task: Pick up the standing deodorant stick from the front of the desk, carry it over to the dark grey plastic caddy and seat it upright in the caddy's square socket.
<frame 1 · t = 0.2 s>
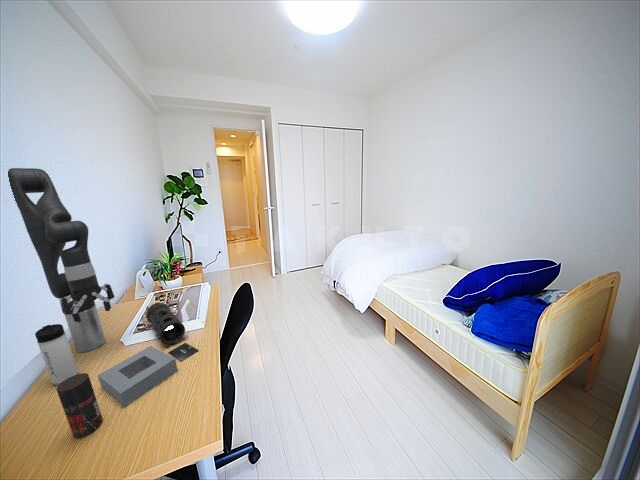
hand: (93, 316, 91), 17 cm above the table, tool pointing down, fingers open, 8 cm apart
travel mug: (66, 379, 83), on the table
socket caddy: (141, 379, 82), on the table
deodorant: (88, 428, 65), on the table
solid state drive: (183, 353, 94), on the table
muzzle brake: (166, 332, 109), on the table
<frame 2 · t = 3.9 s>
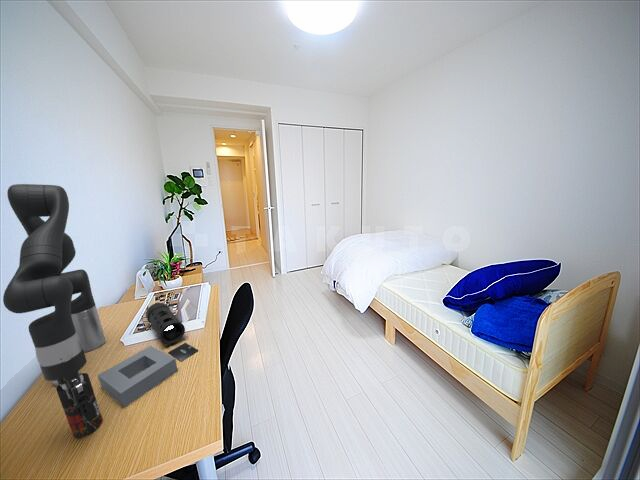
hand: (80, 408, 64), 7 cm above the table, tool pointing down, fingers closed on deodorant, 6 cm apart
deodorant: (88, 428, 65), on the table, touching gripper
everything else where it was.
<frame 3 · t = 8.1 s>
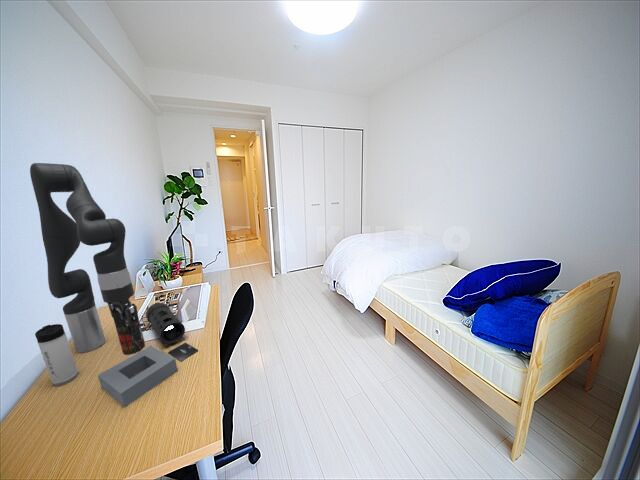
hand: (128, 331, 78), 18 cm above the table, tool pointing down, fingers closed on deodorant, 6 cm apart
deodorant: (134, 349, 79), point 11 cm above the table, touching gripper
everything else where it was.
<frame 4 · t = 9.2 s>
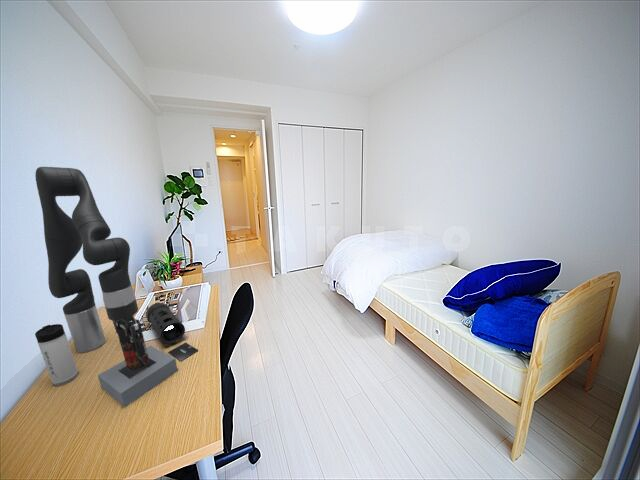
hand: (132, 347, 79), 12 cm above the table, tool pointing down, fingers closed on deodorant, 6 cm apart
deodorant: (138, 364, 81), point 5 cm above the table, touching gripper
everything else where it was.
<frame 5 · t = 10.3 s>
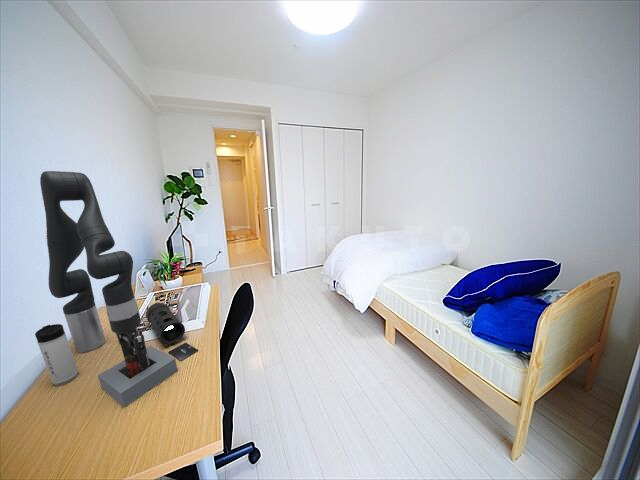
hand: (135, 358, 80), 8 cm above the table, tool pointing down, fingers closed on deodorant, 6 cm apart
deodorant: (141, 375, 82), point 1 cm above the table, touching gripper
everything else where it was.
when the fingers open (8 cm above the table, at t = 10.8 s): deodorant drops 1 cm, resting in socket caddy.
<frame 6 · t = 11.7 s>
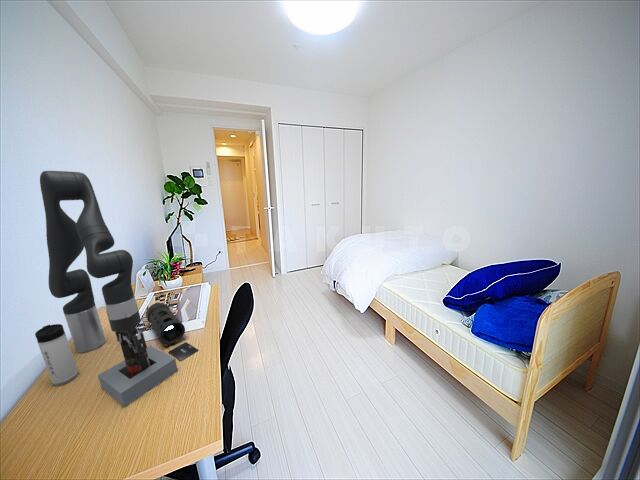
hand: (134, 356, 80), 9 cm above the table, tool pointing down, fingers open, 8 cm apart
deodorant: (142, 378, 82), resting in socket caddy
everything else where it was.
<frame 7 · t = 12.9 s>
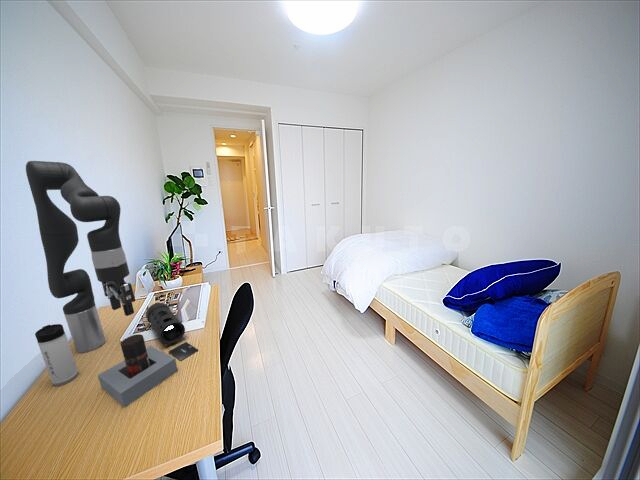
hand: (123, 311, 76), 25 cm above the table, tool pointing down, fingers open, 8 cm apart
nothing on the table moved.
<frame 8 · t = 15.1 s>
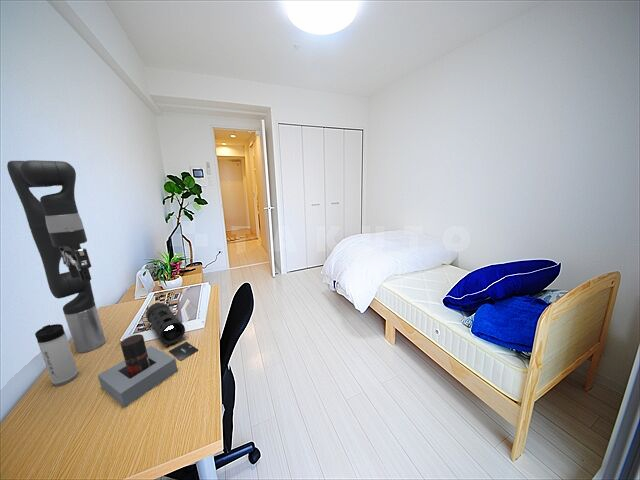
hand: (81, 279, 76), 36 cm above the table, tool pointing down, fingers open, 8 cm apart
nothing on the table moved.
at the end: deodorant 0.4 cm off-centre on the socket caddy, point 0.0 cm above the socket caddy's base; deodorant tilted 0°; the gripper is holding nothing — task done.
